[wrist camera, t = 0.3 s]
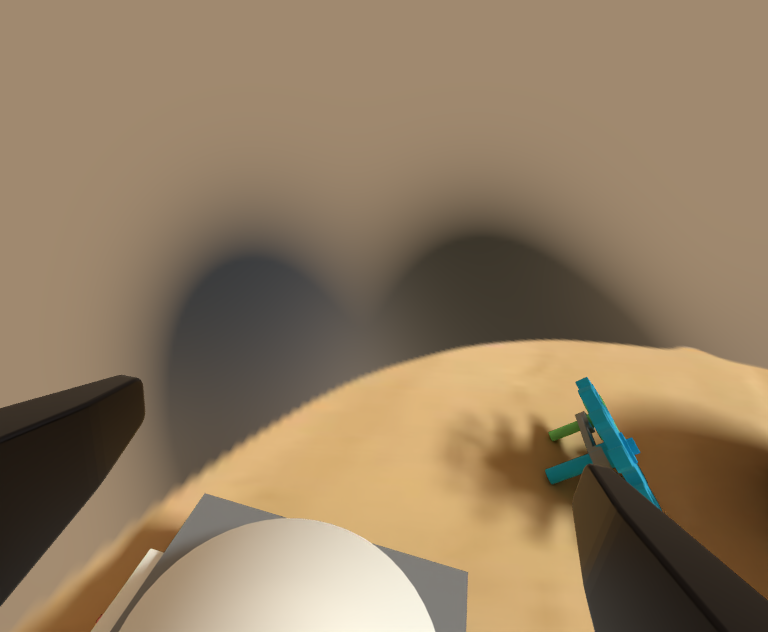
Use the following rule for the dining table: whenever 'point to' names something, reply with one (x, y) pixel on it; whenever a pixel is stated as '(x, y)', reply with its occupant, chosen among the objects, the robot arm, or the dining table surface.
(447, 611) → the base
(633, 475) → the blue bumpy toy figure
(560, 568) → the dining table surface
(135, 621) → the pan
